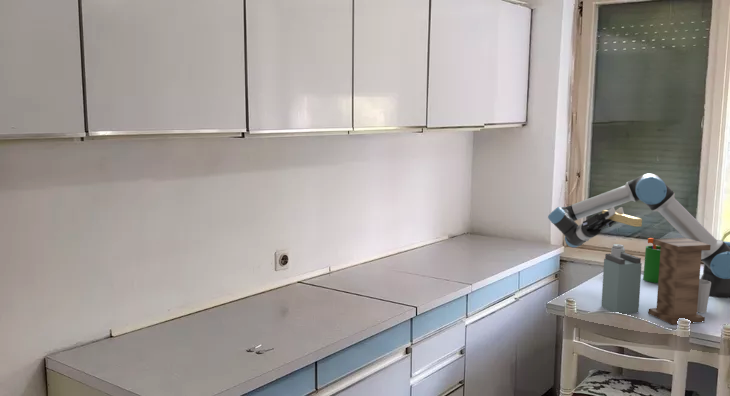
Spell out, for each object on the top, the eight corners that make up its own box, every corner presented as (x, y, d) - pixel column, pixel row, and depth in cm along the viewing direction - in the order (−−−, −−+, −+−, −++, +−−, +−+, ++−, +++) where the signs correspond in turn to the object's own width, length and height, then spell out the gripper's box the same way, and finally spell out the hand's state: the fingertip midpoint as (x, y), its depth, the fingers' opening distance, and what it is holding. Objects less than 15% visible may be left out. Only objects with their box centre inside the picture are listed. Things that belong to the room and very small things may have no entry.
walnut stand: (648, 313, 256) (653, 239, 252) (678, 311, 259) (684, 237, 255) (672, 324, 242) (678, 246, 238) (704, 322, 245) (710, 244, 241)
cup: (682, 307, 264) (684, 279, 262) (701, 307, 264) (703, 278, 263) (694, 313, 256) (696, 284, 254) (713, 313, 257) (715, 283, 255)
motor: (666, 283, 300) (669, 241, 297) (645, 282, 302) (648, 240, 299) (660, 278, 310) (663, 237, 307) (641, 277, 312) (643, 236, 309)
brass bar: (601, 217, 270) (602, 210, 269) (608, 216, 270) (608, 209, 270) (634, 226, 248) (635, 218, 248) (641, 226, 249) (642, 218, 249)
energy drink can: (612, 273, 319) (614, 243, 316) (625, 275, 315) (626, 245, 313) (608, 275, 314) (609, 245, 312) (620, 277, 310) (622, 247, 308)
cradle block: (601, 306, 264) (604, 254, 261) (623, 305, 267) (626, 252, 264) (616, 314, 255) (619, 259, 252) (638, 312, 257) (641, 258, 254)
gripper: (607, 237, 282) (638, 218, 261) (573, 238, 279) (602, 219, 258) (603, 221, 285) (633, 201, 264) (570, 222, 282) (598, 202, 260)
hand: (618, 210), depth 261 cm, fingers closed on brass bar, 3 cm apart
